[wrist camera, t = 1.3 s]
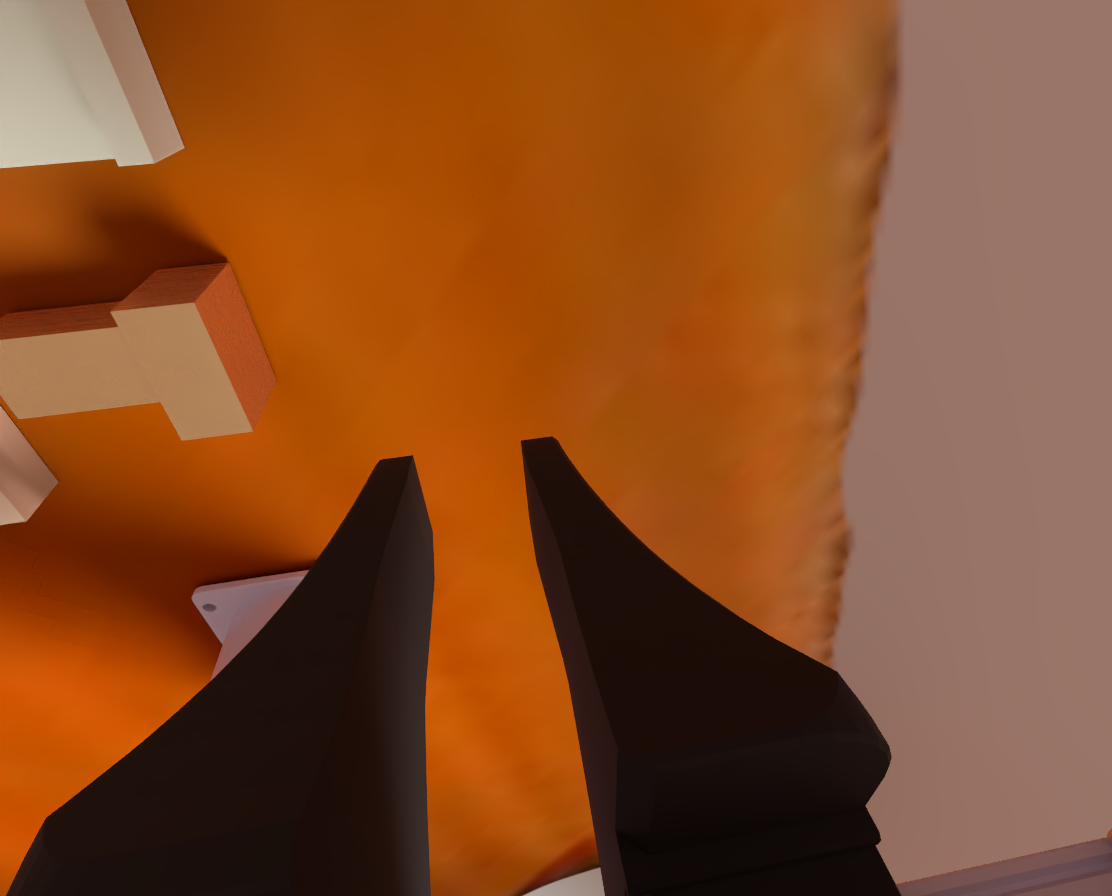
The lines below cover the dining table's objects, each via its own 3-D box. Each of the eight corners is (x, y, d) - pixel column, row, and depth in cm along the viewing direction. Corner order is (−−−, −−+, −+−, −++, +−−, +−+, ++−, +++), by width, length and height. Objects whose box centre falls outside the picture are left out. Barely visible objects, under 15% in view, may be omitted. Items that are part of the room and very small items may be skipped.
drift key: (276, 380, 19) (253, 431, 17) (69, 405, 19) (15, 462, 16) (229, 262, 17) (194, 302, 14) (-11, 286, 16) (-88, 333, 14)
